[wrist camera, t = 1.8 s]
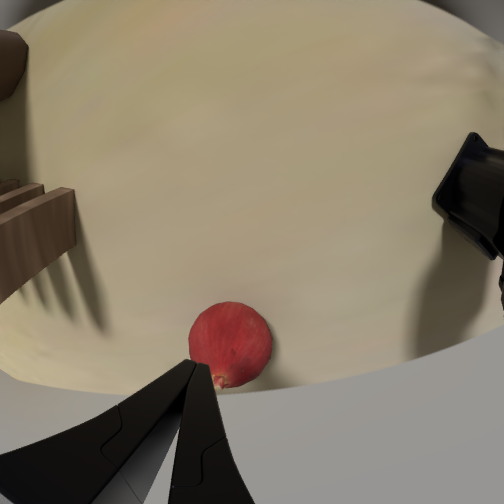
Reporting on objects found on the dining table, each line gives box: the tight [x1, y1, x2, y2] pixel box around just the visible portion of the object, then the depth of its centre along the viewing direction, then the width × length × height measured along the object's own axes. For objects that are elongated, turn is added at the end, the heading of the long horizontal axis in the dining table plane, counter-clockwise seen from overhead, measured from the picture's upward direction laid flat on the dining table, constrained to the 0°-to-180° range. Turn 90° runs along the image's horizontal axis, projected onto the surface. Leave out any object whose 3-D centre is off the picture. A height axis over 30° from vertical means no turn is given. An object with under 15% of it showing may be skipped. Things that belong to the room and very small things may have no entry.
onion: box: [188, 302, 272, 390], centre depth 19 cm, size 6×6×8 cm
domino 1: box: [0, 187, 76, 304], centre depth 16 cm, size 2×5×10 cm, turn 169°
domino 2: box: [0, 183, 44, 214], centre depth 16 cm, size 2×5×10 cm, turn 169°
